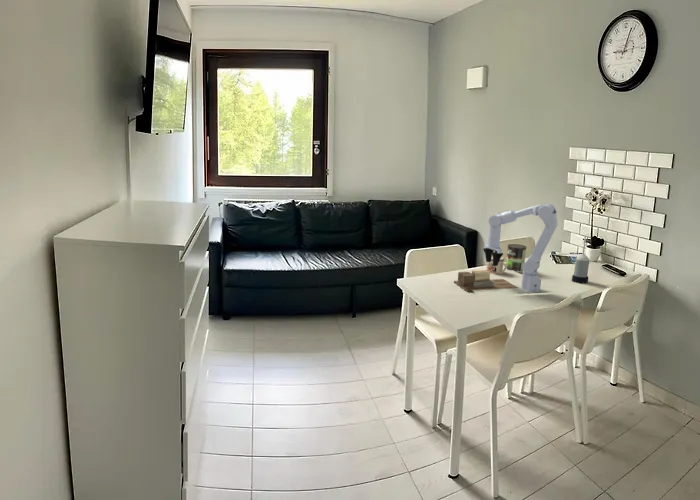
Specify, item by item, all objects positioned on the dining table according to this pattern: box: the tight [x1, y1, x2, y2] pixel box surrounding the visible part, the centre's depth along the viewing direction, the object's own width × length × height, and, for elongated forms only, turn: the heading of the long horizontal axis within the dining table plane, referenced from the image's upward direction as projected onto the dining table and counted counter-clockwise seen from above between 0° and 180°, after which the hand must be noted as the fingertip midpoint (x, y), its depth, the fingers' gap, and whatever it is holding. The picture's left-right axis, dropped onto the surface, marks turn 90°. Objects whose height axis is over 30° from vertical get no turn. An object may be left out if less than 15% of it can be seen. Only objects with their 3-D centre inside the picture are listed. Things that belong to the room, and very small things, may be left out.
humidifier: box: [571, 235, 590, 285], centre depth 289 cm, size 8×8×25 cm
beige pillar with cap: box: [470, 269, 491, 282], centre depth 276 cm, size 4×8×7 cm, turn 103°
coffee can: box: [505, 243, 527, 273], centre depth 310 cm, size 10×10×14 cm
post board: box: [453, 271, 519, 293], centre depth 277 cm, size 16×28×7 cm, turn 103°
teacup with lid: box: [486, 256, 507, 275], centre depth 300 cm, size 12×9×12 cm
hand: (491, 263), depth 281 cm, fingers open, 7 cm apart
